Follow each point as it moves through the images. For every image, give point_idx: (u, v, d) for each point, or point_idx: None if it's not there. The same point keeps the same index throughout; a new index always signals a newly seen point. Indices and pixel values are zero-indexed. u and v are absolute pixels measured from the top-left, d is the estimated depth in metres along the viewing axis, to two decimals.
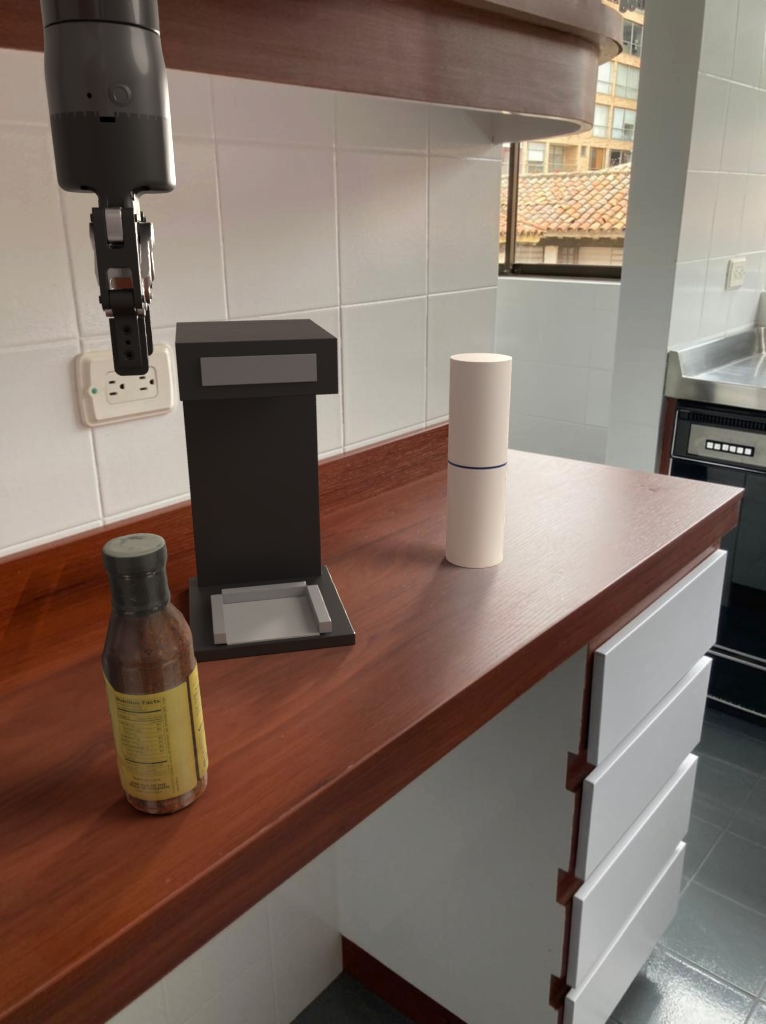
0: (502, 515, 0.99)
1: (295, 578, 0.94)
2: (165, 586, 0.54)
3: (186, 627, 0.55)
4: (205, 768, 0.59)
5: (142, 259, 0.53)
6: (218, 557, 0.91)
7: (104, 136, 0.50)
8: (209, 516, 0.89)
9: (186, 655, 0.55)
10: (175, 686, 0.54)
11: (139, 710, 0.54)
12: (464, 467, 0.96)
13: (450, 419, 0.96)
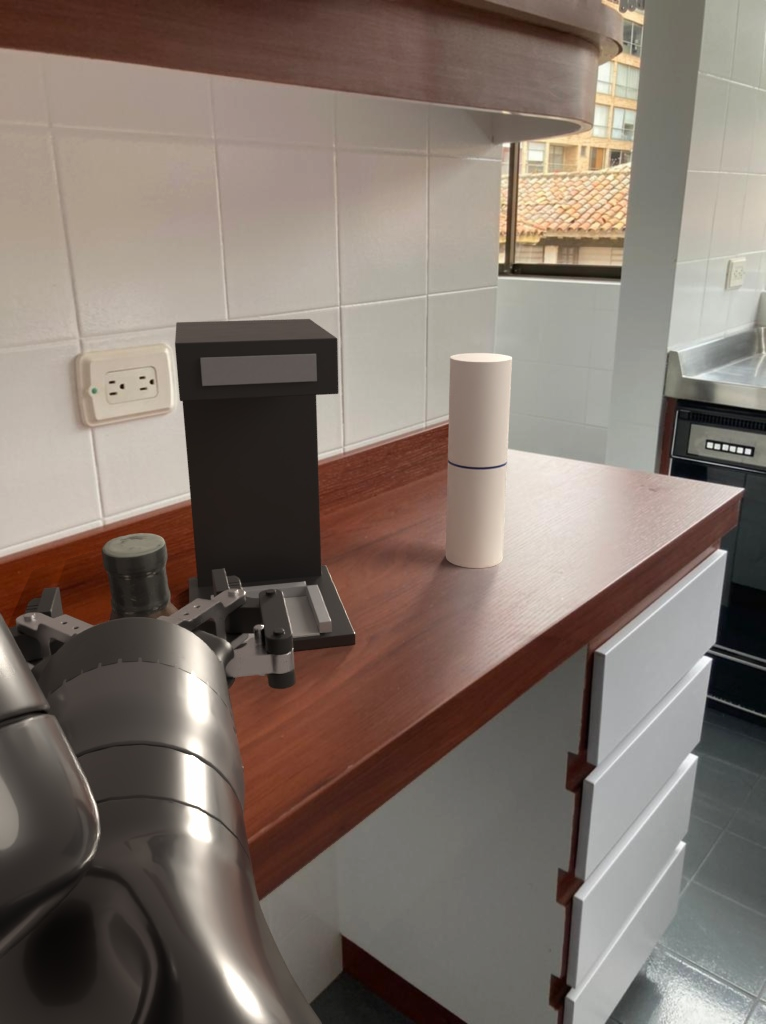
0: (502, 515, 0.99)
1: (295, 578, 0.94)
2: (165, 586, 0.54)
3: None
4: None
5: None
6: (218, 557, 0.91)
7: None
8: (209, 516, 0.89)
9: None
10: None
11: None
12: (464, 467, 0.96)
13: (450, 419, 0.96)
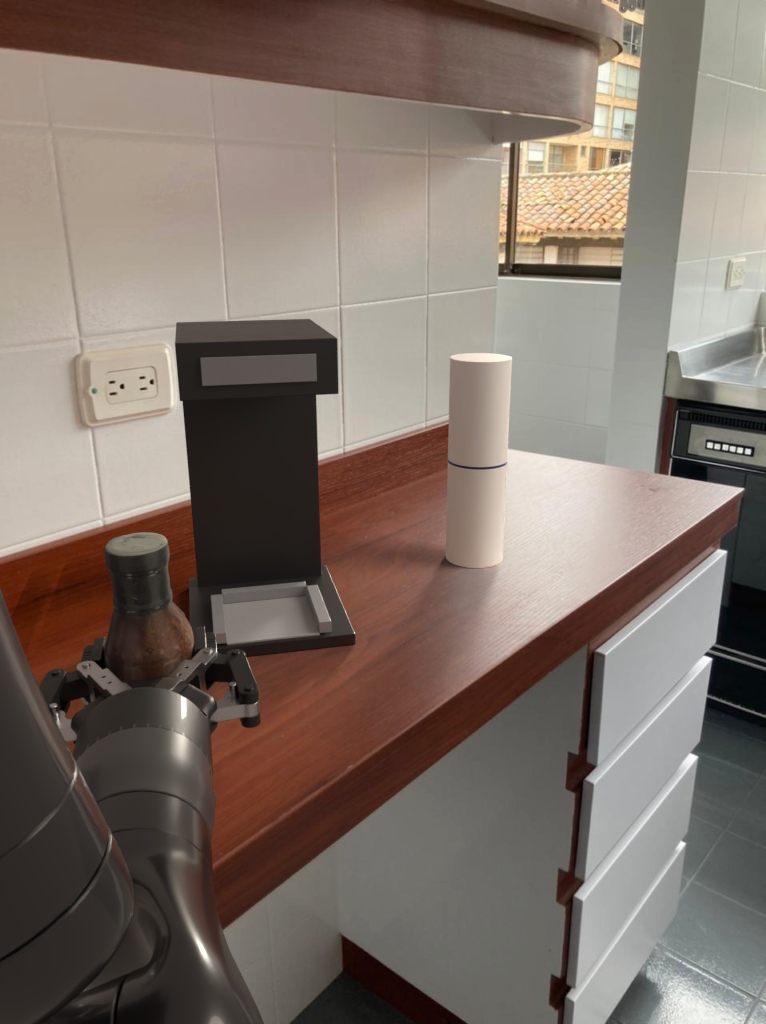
0: (502, 515, 0.99)
1: (295, 578, 0.94)
2: (167, 585, 0.54)
3: (188, 626, 0.55)
4: None
5: None
6: (218, 557, 0.91)
7: None
8: (209, 516, 0.89)
9: (187, 654, 0.55)
10: None
11: None
12: (464, 467, 0.96)
13: (450, 419, 0.96)
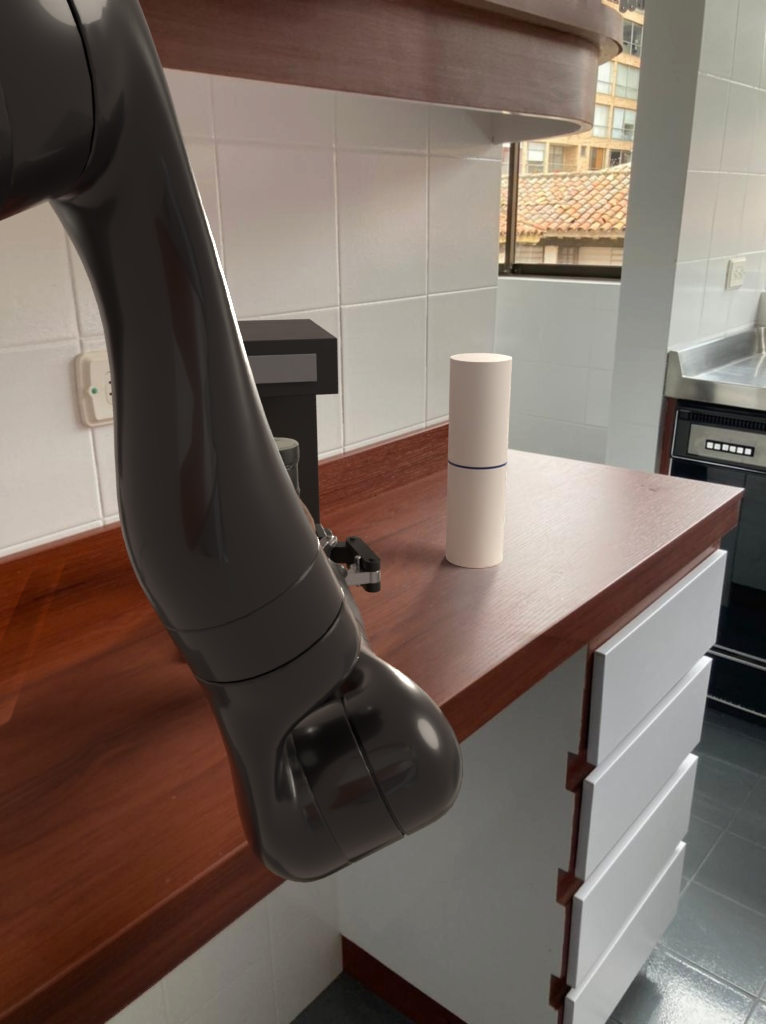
0: (502, 515, 0.99)
1: None
2: (297, 480, 0.64)
3: (311, 518, 0.66)
4: None
5: None
6: None
7: None
8: None
9: None
10: None
11: None
12: (464, 467, 0.96)
13: (450, 419, 0.96)
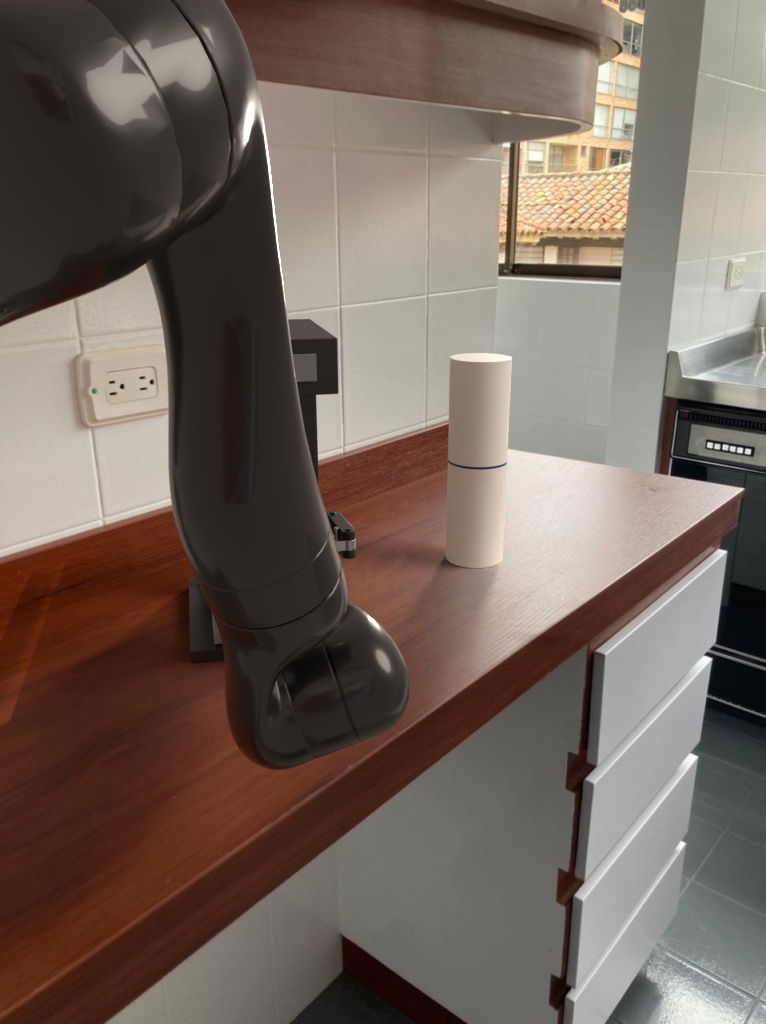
0: (502, 515, 0.99)
1: None
2: None
3: None
4: None
5: None
6: None
7: None
8: None
9: None
10: None
11: None
12: (464, 467, 0.96)
13: (450, 419, 0.96)
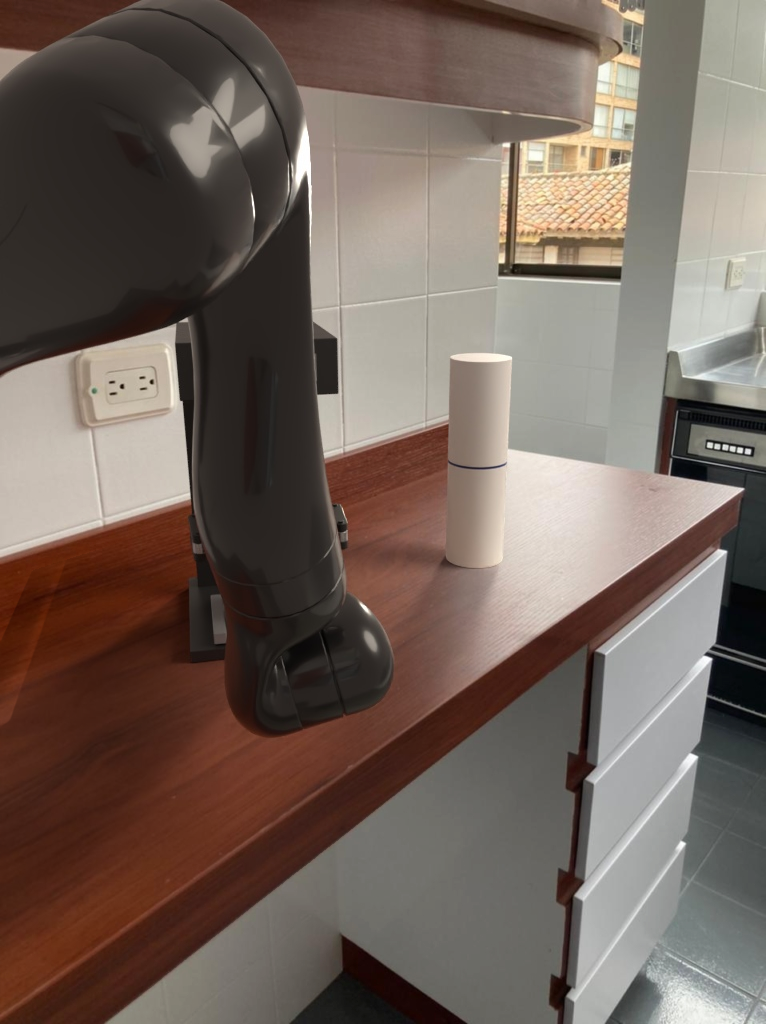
0: (502, 515, 0.99)
1: None
2: None
3: None
4: None
5: None
6: None
7: None
8: None
9: None
10: None
11: None
12: (464, 467, 0.96)
13: (450, 419, 0.96)
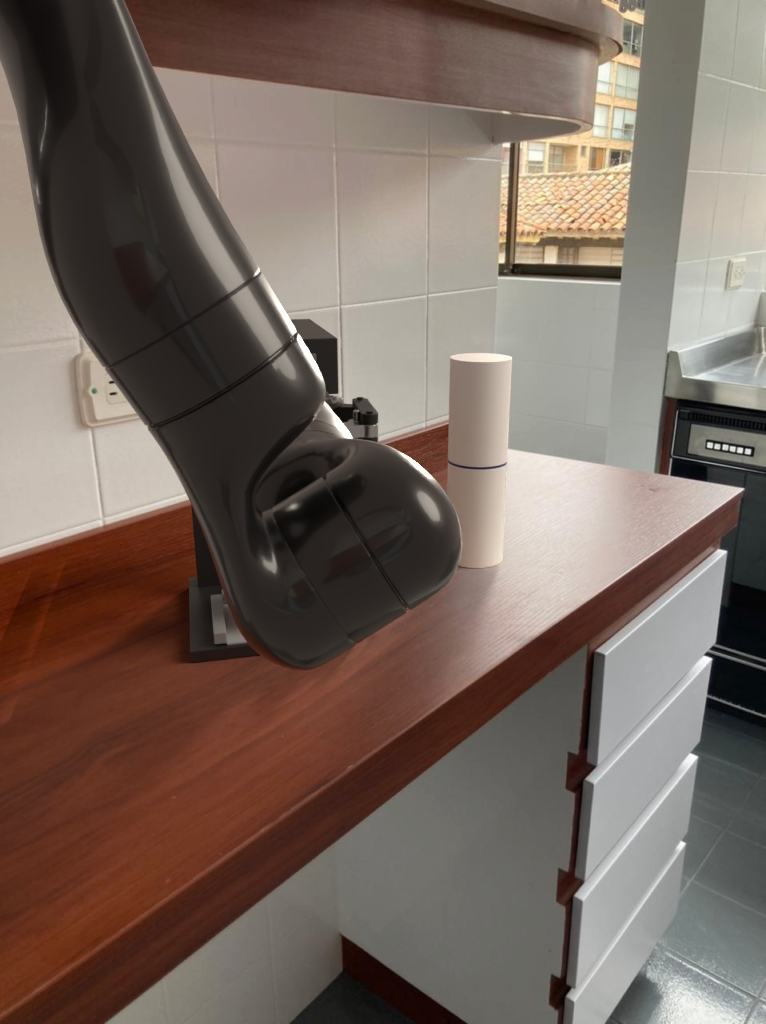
0: (502, 515, 0.99)
1: None
2: None
3: None
4: None
5: None
6: None
7: None
8: None
9: None
10: None
11: None
12: (464, 467, 0.96)
13: (450, 419, 0.96)
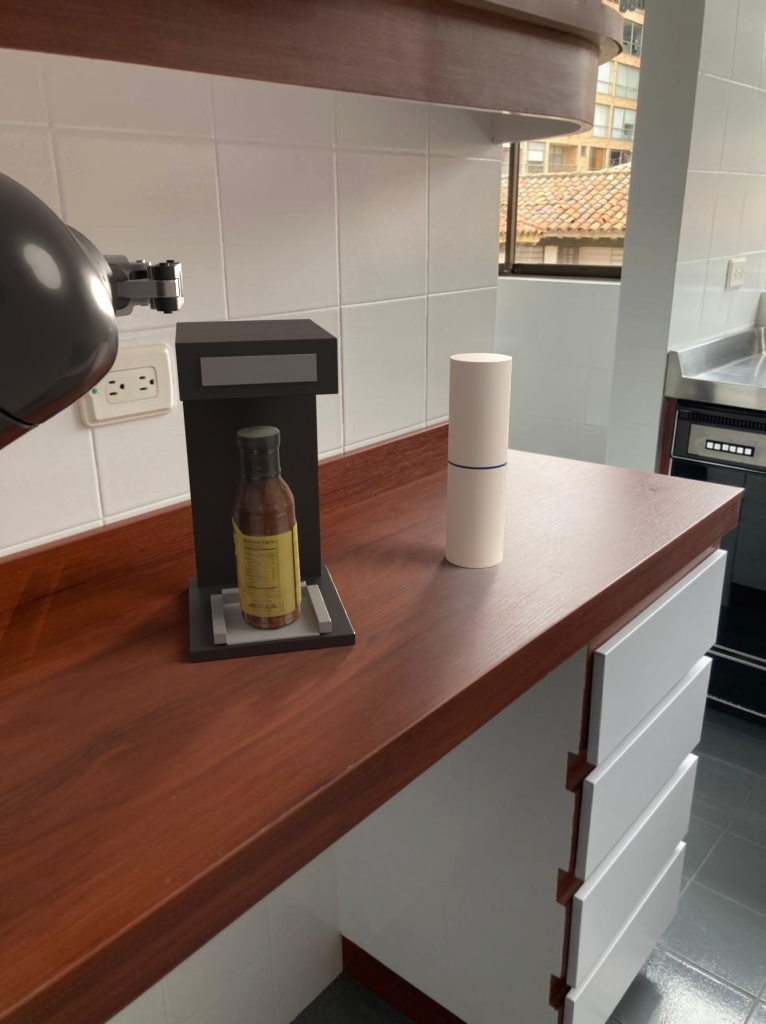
0: (502, 515, 0.99)
1: None
2: (278, 461, 0.77)
3: (291, 493, 0.79)
4: (300, 599, 0.83)
5: None
6: (218, 557, 0.91)
7: None
8: (209, 516, 0.89)
9: (291, 511, 0.78)
10: (284, 532, 0.78)
11: (260, 547, 0.77)
12: (464, 467, 0.96)
13: (450, 419, 0.96)
